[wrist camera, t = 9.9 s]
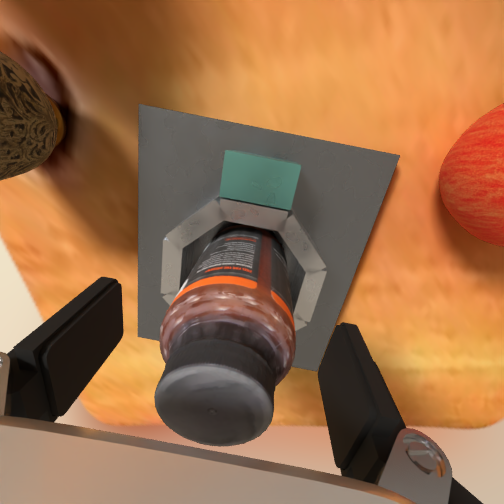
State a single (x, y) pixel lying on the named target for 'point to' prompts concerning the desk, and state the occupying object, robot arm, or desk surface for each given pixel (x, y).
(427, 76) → the desk surface
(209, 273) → the supplement bottle
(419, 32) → the desk surface
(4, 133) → the cup
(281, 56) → the desk surface
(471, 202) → the apple
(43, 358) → the robot arm
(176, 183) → the hub plate
